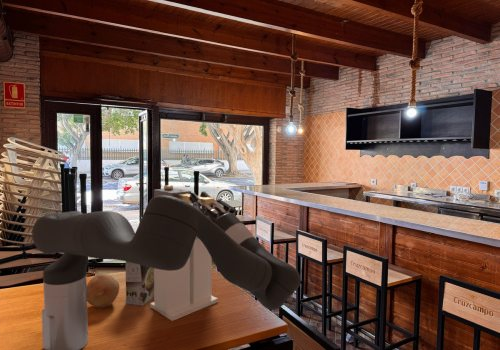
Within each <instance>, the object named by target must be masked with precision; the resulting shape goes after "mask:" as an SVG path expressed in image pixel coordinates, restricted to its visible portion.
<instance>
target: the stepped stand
mask: <svg viewBox="0 0 500 350" xmlns="http://www.w3.org/2000/svg"><path fill="white" fill-rule="evenodd" d="M212 262H213V260H212V258H211V256H210V254H209V252H208V250H207V249H206V247H205V246H204V244H203V243H202V242H201V240H200V239H199V238H198V237H197V236H196V239H195V242H194V245H193V247H192V250H191V253H190V256H189V258H188V261H187V263H186V264H185V266H184V267H183V268H181V269H179V270H173V271H167V270H160V269H155V268H154V297H153V298H154V301H152V302H150V303H149V305H150V306H149V307H150V308H151V309H153V310H155V311H156V312H158V313H159V314H161V316H164V317H165V318H167V319H168V320H170V321H172V322H173V321H175V320H178V319H180V318H182V317H185V316H187V315H189V314H193V313H194V312H197V311H199V310H202V309H204V308H206V307H209V306H213V305H215V304H216V303H218V302H219V301H218V299H219V298H218V297H216V296H213V295H212V276H213V275H212V272H213V271H212V269H213V268H212Z"/></svg>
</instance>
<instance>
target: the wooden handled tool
mask: <svg viewBox="0 0 500 350" xmlns="http://www.w3.org/2000/svg"><path fill="white" fill-rule="evenodd" d="M191 193H192V191H191V190H187V189H182V188H181V189H180V188H174V185H172V184H171V185H170V184H169V185H168V184H166V185H164V186H163V188H160V189H159V188H158V189H153V197H155V196H159V195H166V196H172V197H176V198H178V199H181V200H184V201H186V202H187V203H189V204H191V205H193V204H192V202H191V201H190V200H189V197H190V194H191ZM197 196H198V197H199V198H200V200H201V201H202V202H203V203H204V204H208V205H209V206H212V205H214V199H215V198H213V197H211V198H208V197H202V196H200V195H197Z"/></svg>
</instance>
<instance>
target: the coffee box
mask: <svg viewBox="0 0 500 350" xmlns="http://www.w3.org/2000/svg"><path fill="white" fill-rule="evenodd" d="M153 298H154V268H151V267H147V266H143V265H139V264H135V263H131V262H127V261H125V304H127V305H135V306H141V307H143V306H145V305H146V304H147V303H149V302H150V300H152V299H153Z"/></svg>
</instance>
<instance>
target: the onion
mask: <svg viewBox="0 0 500 350" xmlns="http://www.w3.org/2000/svg"><path fill="white" fill-rule="evenodd" d="M86 284H87V304H89V305H91V306H92V307H94V308H105V307H109V306H110V305H112V304H113V303H114V302H115V300H116V299H117V297H118V296H119V291H120V284H119V281H118V280H117V279H115V277H113V276H112V275H110V274H107V273H98V274H96V275H94V276H93V277H92V278H90V280H89V281H88V283H86Z"/></svg>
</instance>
